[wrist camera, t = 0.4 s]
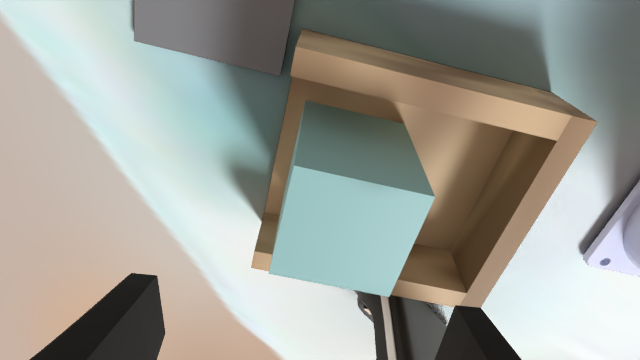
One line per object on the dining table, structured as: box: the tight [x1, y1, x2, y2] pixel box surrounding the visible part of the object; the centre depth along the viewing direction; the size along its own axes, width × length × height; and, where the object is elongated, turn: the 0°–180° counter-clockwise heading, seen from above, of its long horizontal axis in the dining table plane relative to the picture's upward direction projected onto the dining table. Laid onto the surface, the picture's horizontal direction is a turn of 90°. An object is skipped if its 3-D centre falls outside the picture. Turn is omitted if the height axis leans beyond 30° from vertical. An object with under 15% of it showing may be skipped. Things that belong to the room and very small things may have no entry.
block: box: [269, 100, 435, 297], centre depth 16 cm, size 4×4×6 cm
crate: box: [251, 29, 598, 308], centre depth 18 cm, size 11×10×3 cm
